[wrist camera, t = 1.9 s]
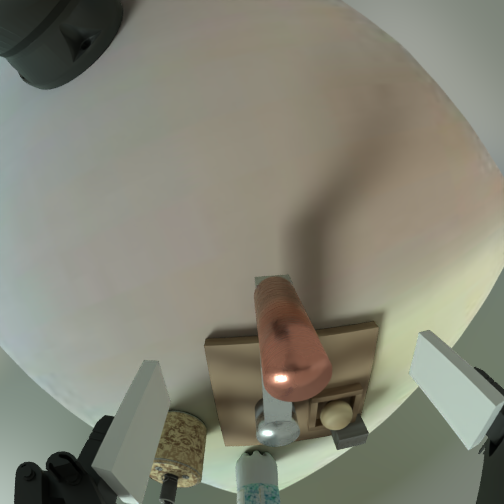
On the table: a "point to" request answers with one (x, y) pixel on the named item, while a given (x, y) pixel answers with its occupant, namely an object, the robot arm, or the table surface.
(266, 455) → the bottle
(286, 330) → the lever
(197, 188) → the table surface
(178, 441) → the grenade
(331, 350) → the square wooden tray
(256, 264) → the table surface
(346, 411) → the nut
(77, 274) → the table surface
